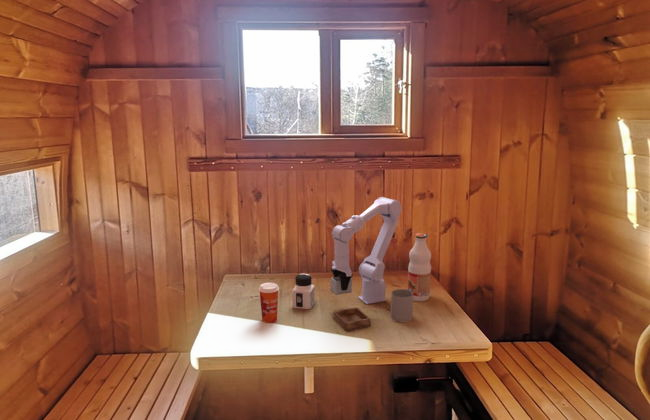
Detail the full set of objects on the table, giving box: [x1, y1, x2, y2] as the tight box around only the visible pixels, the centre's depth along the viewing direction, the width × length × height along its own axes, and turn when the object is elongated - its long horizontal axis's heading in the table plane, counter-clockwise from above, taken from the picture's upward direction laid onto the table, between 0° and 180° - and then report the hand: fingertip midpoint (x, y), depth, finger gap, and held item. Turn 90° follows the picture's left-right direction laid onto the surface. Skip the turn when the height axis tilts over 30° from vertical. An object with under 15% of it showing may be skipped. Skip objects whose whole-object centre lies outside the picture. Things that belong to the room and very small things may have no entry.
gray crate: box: [330, 276, 353, 296], centre depth 201 cm, size 7×5×6 cm
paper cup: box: [258, 282, 280, 324], centre depth 191 cm, size 8×8×14 cm
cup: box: [390, 288, 414, 323], centre depth 193 cm, size 8×8×10 cm
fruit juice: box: [407, 232, 432, 302], centre depth 210 cm, size 9×9×28 cm
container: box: [291, 273, 316, 310], centre depth 205 cm, size 8×8×13 cm
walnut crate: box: [332, 307, 371, 332], centre depth 190 cm, size 10×11×3 cm
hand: (341, 287), depth 201 cm, fingers closed on gray crate, 5 cm apart
